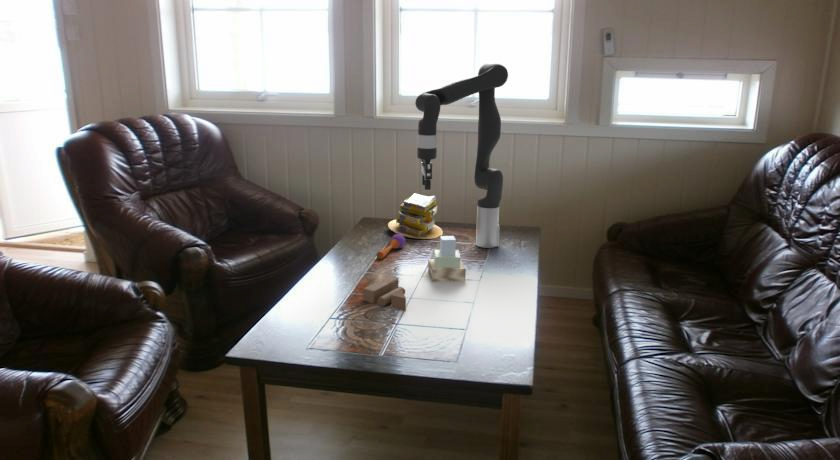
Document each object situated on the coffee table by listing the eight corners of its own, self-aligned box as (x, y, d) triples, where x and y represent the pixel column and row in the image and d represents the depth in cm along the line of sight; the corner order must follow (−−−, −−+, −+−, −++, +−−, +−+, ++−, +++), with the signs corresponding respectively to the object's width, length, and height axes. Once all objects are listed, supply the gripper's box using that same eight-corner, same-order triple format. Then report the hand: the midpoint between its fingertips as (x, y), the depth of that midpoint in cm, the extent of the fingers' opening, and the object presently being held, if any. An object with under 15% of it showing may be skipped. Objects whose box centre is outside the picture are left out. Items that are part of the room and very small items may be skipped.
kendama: (371, 248, 261) (393, 232, 278) (375, 262, 263) (396, 245, 280) (385, 248, 259) (405, 231, 276) (388, 262, 260) (408, 245, 277)
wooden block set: (360, 286, 217) (391, 271, 232) (360, 302, 218) (391, 286, 233) (403, 296, 208) (432, 280, 223) (403, 313, 210) (432, 296, 225)
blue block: (452, 251, 244) (453, 235, 242) (455, 255, 239) (455, 239, 238) (439, 251, 243) (440, 236, 242) (441, 255, 239) (442, 240, 237)
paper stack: (453, 231, 302) (454, 195, 298) (422, 243, 282) (422, 205, 278) (409, 222, 316) (410, 188, 311) (377, 233, 296) (377, 197, 292)
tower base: (459, 270, 250) (459, 258, 249) (465, 281, 239) (465, 268, 237) (428, 271, 249) (428, 259, 247) (432, 282, 237) (432, 269, 236)
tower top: (458, 259, 247) (458, 249, 246) (460, 267, 238) (460, 257, 237) (434, 259, 247) (434, 249, 246) (435, 267, 238) (435, 257, 237)
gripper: (439, 149, 248) (438, 191, 253) (434, 143, 262) (433, 183, 266) (419, 149, 247) (418, 191, 252) (415, 143, 261) (414, 183, 266)
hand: (426, 187), depth 259 cm, fingers open, 8 cm apart
